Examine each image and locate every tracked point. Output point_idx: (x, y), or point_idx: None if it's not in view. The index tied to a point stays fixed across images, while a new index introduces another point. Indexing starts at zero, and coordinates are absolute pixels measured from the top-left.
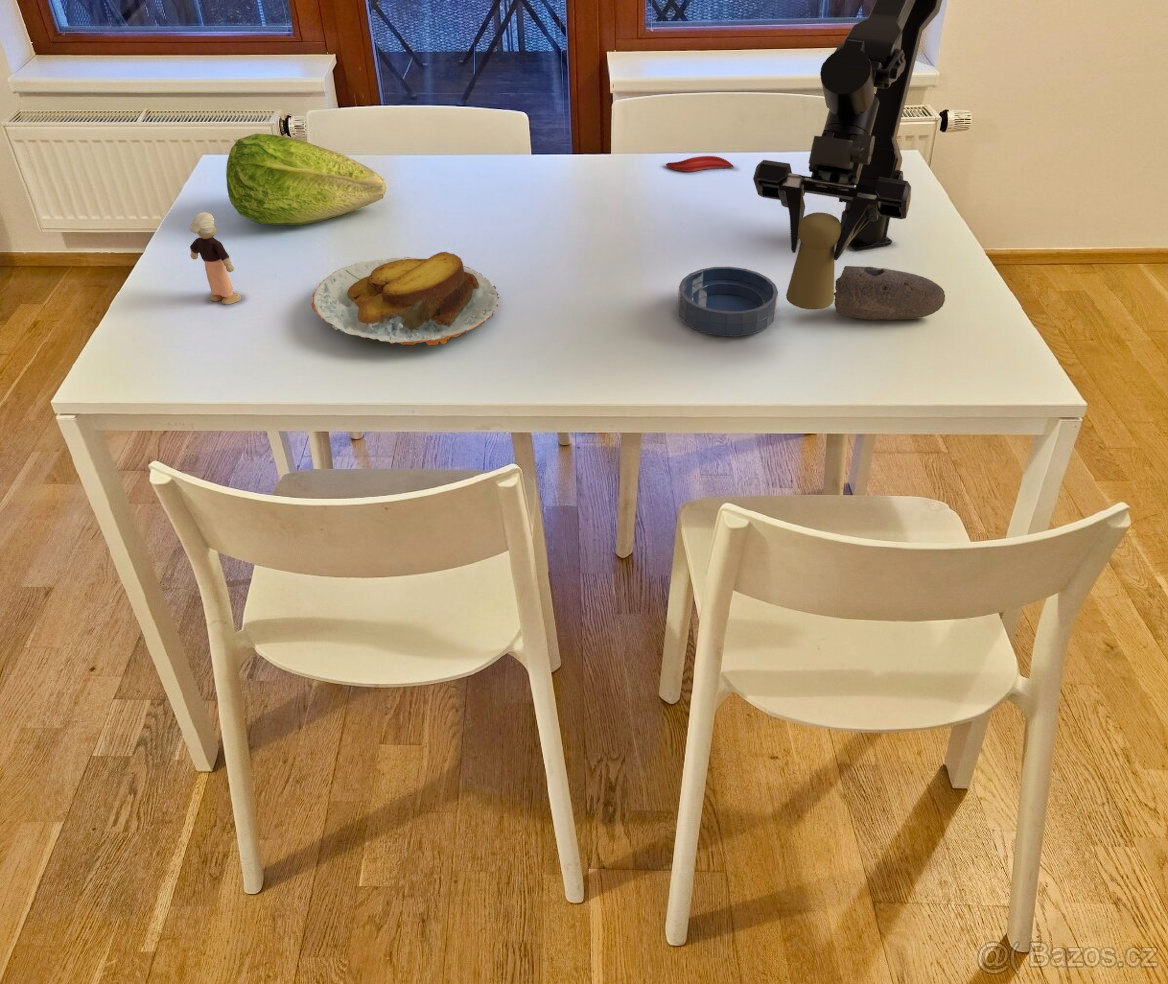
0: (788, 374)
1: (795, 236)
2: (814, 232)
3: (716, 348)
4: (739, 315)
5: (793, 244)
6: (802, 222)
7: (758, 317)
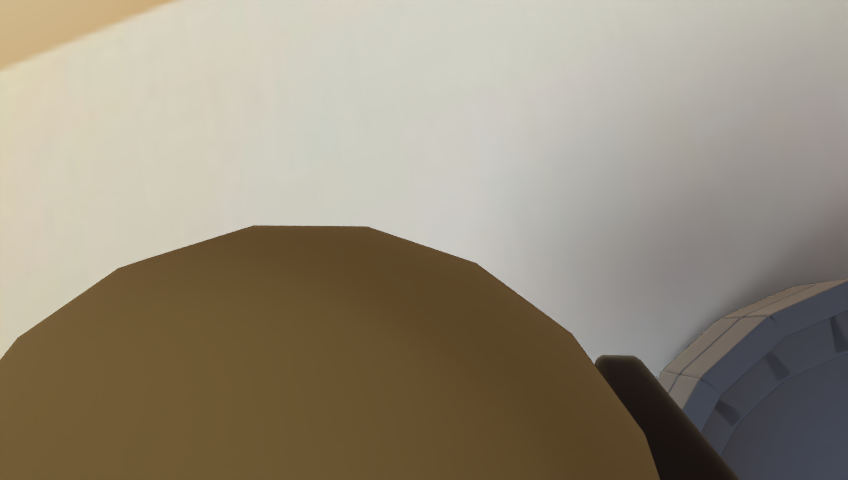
0: (425, 115)
1: (659, 466)
2: (320, 237)
3: (792, 205)
4: (781, 307)
5: (636, 387)
6: (629, 477)
7: (678, 386)
